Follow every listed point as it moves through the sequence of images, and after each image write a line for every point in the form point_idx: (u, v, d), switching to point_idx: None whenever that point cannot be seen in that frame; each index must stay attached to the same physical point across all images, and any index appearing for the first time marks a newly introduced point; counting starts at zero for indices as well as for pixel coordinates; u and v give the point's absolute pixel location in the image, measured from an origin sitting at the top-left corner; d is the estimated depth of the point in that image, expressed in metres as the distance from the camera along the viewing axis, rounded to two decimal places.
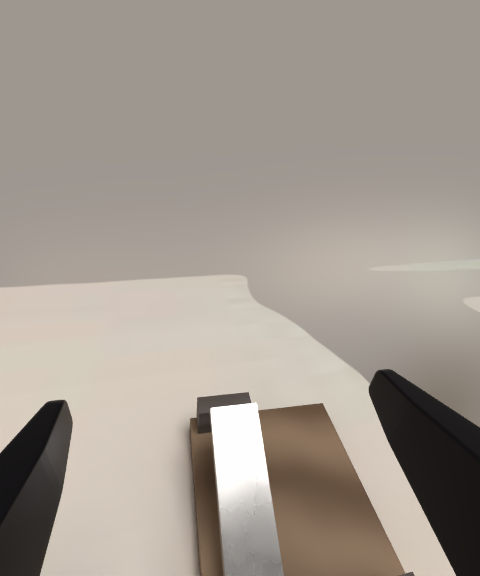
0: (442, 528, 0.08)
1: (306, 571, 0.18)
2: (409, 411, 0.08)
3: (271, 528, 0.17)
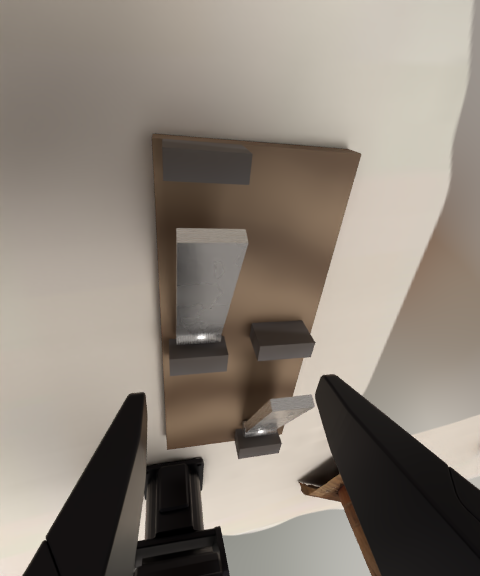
0: (376, 543, 0.07)
1: (244, 306, 0.22)
2: (346, 419, 0.08)
3: (222, 314, 0.19)
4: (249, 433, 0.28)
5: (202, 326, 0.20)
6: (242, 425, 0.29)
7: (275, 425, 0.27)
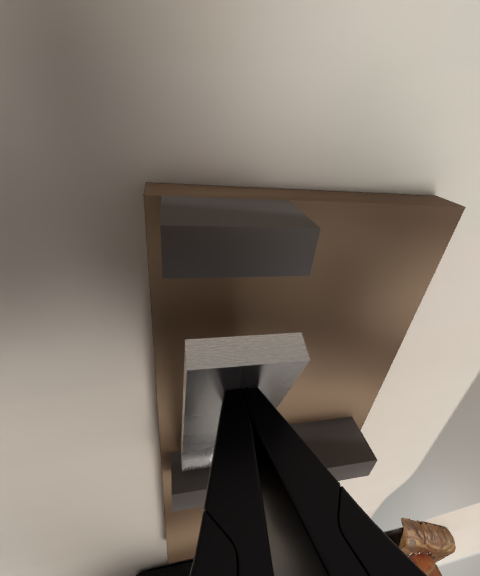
0: (275, 567, 0.07)
1: (277, 407, 0.16)
2: None
3: None
4: None
5: None
6: None
7: None
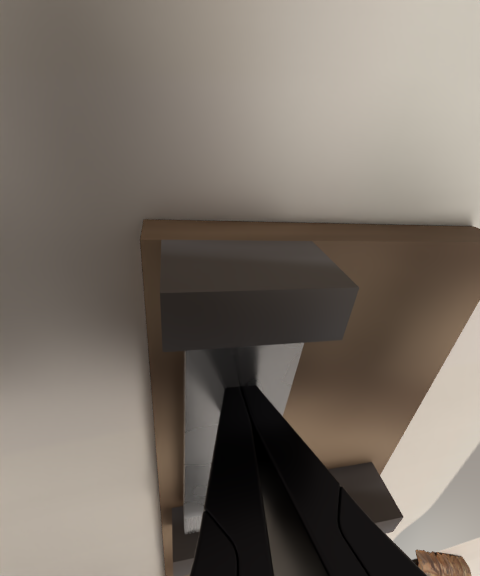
0: (275, 567, 0.07)
1: None
2: None
3: None
4: None
5: None
6: None
7: None
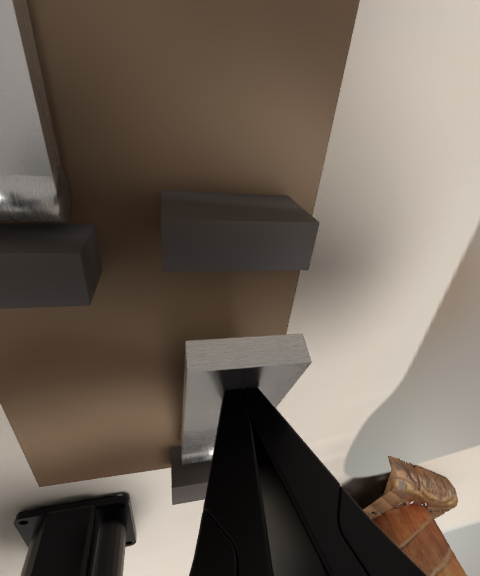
0: (275, 567, 0.07)
1: (133, 131, 0.08)
2: None
3: None
4: (190, 455, 0.14)
5: None
6: None
7: None
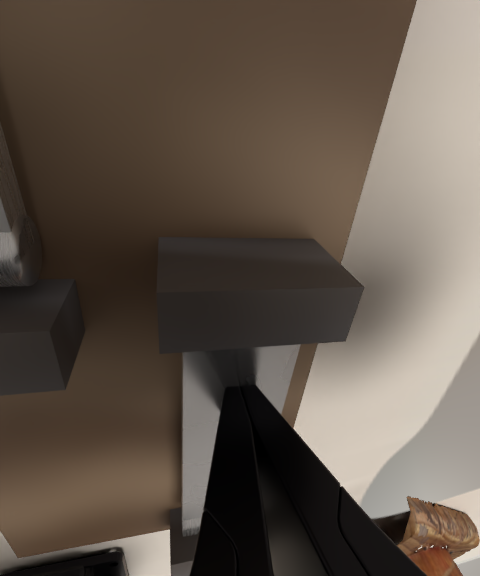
0: (275, 567, 0.07)
1: (121, 167, 0.07)
2: None
3: None
4: (191, 521, 0.12)
5: None
6: (181, 509, 0.13)
7: None
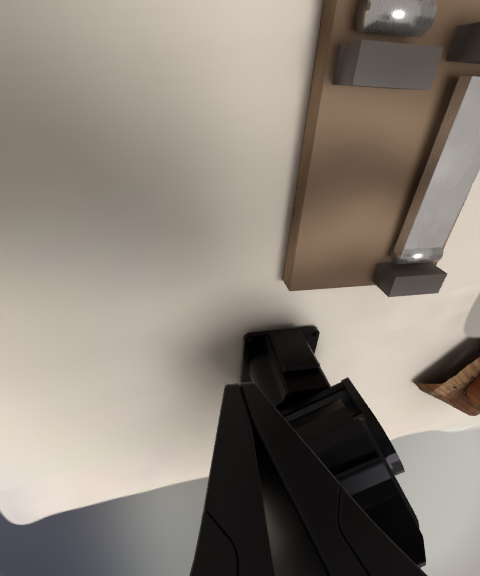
0: (275, 567, 0.07)
1: None
2: None
3: None
4: (408, 249, 0.21)
5: None
6: (391, 256, 0.22)
7: (447, 212, 0.20)
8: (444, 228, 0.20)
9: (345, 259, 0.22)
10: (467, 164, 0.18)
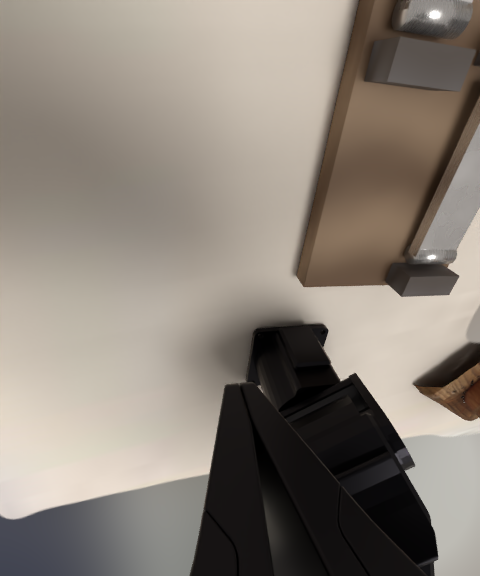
0: (275, 567, 0.07)
1: None
2: None
3: None
4: (424, 250, 0.21)
5: None
6: (405, 256, 0.22)
7: (464, 214, 0.20)
8: (459, 230, 0.21)
9: (360, 257, 0.22)
10: None
